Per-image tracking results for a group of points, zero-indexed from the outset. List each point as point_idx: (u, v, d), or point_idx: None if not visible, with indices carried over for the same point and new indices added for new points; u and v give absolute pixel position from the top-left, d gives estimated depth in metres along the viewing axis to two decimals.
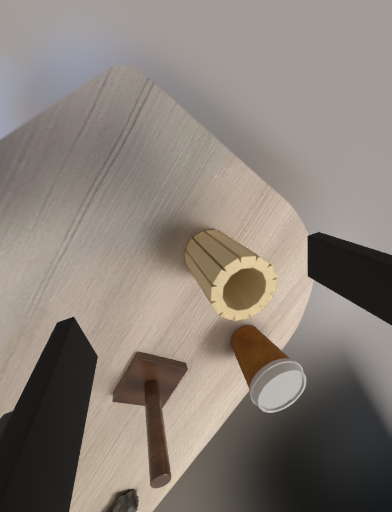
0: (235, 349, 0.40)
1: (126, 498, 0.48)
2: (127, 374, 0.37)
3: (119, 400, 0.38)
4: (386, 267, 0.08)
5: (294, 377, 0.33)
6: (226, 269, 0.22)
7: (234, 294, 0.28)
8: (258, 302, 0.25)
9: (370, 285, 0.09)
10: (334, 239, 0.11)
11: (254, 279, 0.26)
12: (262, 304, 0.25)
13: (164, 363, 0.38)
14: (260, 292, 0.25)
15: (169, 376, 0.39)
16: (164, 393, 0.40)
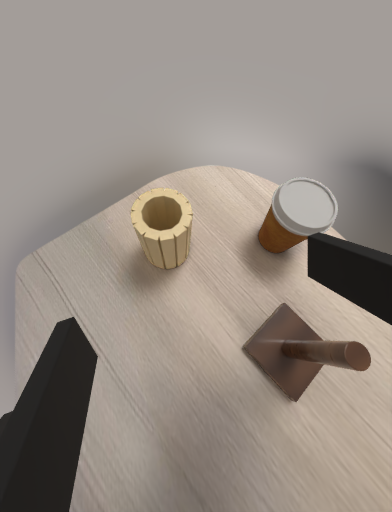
0: (275, 247, 0.38)
1: None
2: (264, 368, 0.32)
3: (297, 393, 0.31)
4: (386, 267, 0.08)
5: (295, 188, 0.31)
6: (134, 221, 0.27)
7: None
8: (180, 204, 0.29)
9: (370, 285, 0.09)
10: (334, 239, 0.11)
11: (170, 207, 0.31)
12: (184, 202, 0.29)
13: (265, 323, 0.34)
14: (174, 202, 0.29)
15: (285, 325, 0.34)
16: (310, 339, 0.34)
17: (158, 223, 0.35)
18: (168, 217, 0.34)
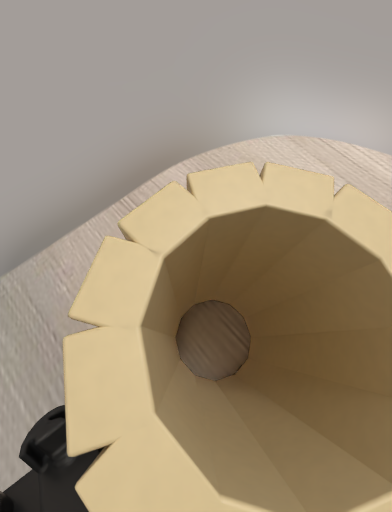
0: None
1: None
2: None
3: None
4: None
5: None
6: (91, 440, 0.03)
7: (320, 334, 0.07)
8: (380, 255, 0.05)
9: None
10: None
11: (266, 252, 0.07)
12: None
13: None
14: (322, 238, 0.05)
15: None
16: None
17: (196, 290, 0.11)
18: (234, 275, 0.10)
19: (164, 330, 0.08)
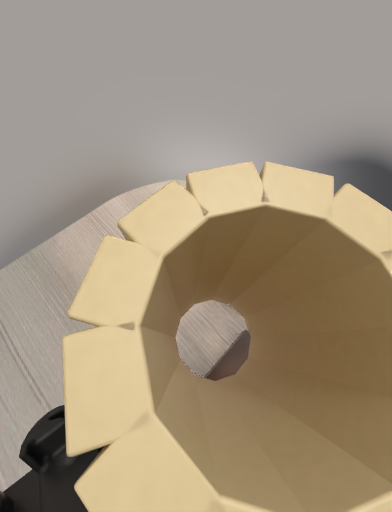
0: None
1: None
2: None
3: None
4: None
5: None
6: (91, 440, 0.03)
7: (320, 334, 0.07)
8: (380, 255, 0.05)
9: None
10: None
11: (266, 252, 0.07)
12: None
13: (224, 355, 0.31)
14: (322, 238, 0.05)
15: (246, 355, 0.31)
16: None
17: (196, 290, 0.11)
18: (234, 275, 0.10)
19: (164, 330, 0.08)
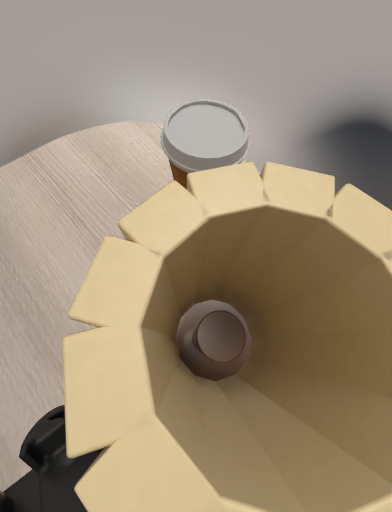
0: None
1: None
2: None
3: None
4: None
5: (192, 113, 0.22)
6: (91, 442, 0.03)
7: (321, 335, 0.07)
8: (381, 255, 0.05)
9: None
10: None
11: (267, 252, 0.07)
12: None
13: None
14: (323, 238, 0.05)
15: (200, 306, 0.25)
16: None
17: (196, 290, 0.11)
18: (234, 275, 0.10)
19: (164, 330, 0.08)
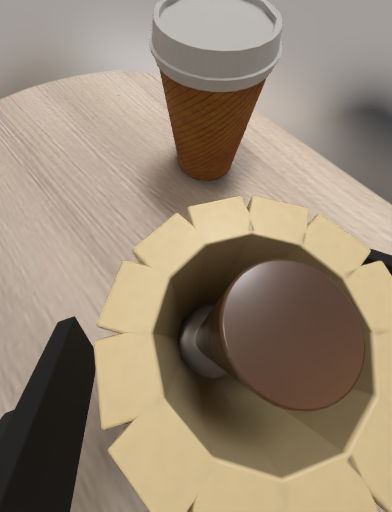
0: (196, 162, 0.21)
1: None
2: None
3: None
4: None
5: (195, 4, 0.15)
6: (118, 418, 0.04)
7: None
8: (342, 275, 0.06)
9: None
10: None
11: None
12: (355, 259, 0.06)
13: None
14: (299, 259, 0.07)
15: None
16: None
17: (196, 296, 0.12)
18: None
19: (168, 333, 0.09)
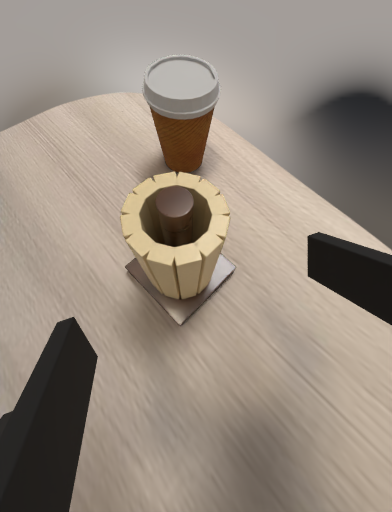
0: (175, 160, 0.32)
1: None
2: (146, 289, 0.26)
3: (183, 315, 0.25)
4: (386, 267, 0.08)
5: (170, 66, 0.26)
6: (128, 233, 0.15)
7: None
8: (207, 198, 0.16)
9: (370, 285, 0.09)
10: (334, 239, 0.11)
11: None
12: (212, 193, 0.16)
13: None
14: (196, 195, 0.17)
15: None
16: None
17: None
18: None
19: (148, 237, 0.19)
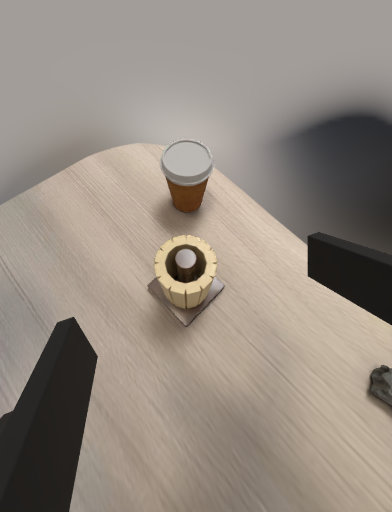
0: (181, 205, 0.44)
1: (377, 381, 0.34)
2: (162, 301, 0.38)
3: (188, 319, 0.36)
4: (386, 267, 0.08)
5: (179, 147, 0.37)
6: (159, 275, 0.26)
7: (204, 271, 0.30)
8: (204, 252, 0.28)
9: (370, 285, 0.09)
10: (334, 239, 0.11)
11: None
12: (207, 249, 0.28)
13: None
14: (197, 249, 0.29)
15: None
16: None
17: None
18: None
19: (167, 271, 0.31)
